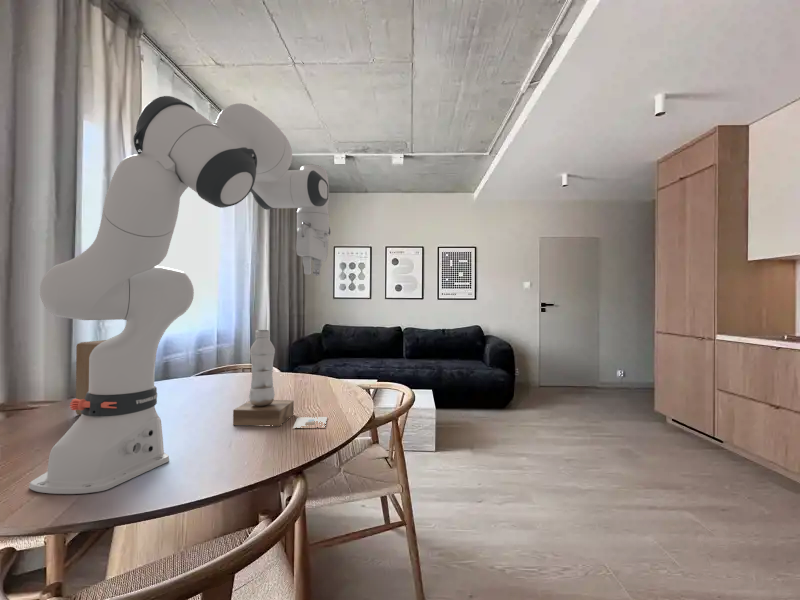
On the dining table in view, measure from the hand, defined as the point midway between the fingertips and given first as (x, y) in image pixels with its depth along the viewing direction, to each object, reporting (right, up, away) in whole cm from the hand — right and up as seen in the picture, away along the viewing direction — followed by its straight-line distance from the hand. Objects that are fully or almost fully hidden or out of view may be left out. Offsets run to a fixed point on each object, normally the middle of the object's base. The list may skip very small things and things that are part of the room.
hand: (312, 275), depth 125 cm
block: (-58, -39, +1) cm, 70 cm away
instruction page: (+1, -39, -8) cm, 40 cm away
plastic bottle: (-12, -35, -6) cm, 38 cm away
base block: (-12, -39, -5) cm, 41 cm away
